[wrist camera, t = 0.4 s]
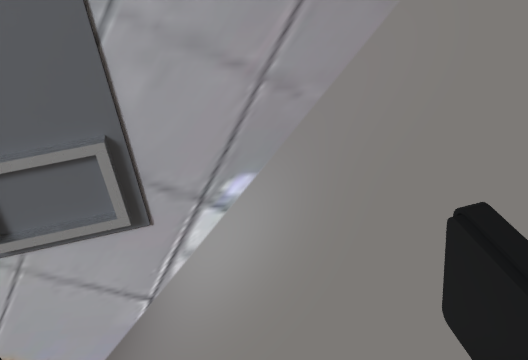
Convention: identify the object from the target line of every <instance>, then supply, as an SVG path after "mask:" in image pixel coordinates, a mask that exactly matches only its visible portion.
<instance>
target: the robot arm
mask: <svg viewBox="0 0 528 360" xmlns="http://www.w3.org/2000/svg"><path fill="white" fill-rule="evenodd" d="M442 311H443V315H444V318H445V320H446V322H447V324H448V326H449V327H450V329H451V330H452V331H453V333H454V334H455V336H456V337H457V339H458V340H459V341H460V343H461V344H462V346H463V347H464V349H465V350H466V351H467V353H468V354H469V356H470V357H471V359H472V360H528V240H527V239H526V238H525V237H523V236H522V235H521V234H520V233H519V232H518V231H517V230H516V229H515V228H514V227H513V226H511V225H510V224H509V223H508V222H507V221H506V220H505V219H504V218H503V217H502V216H501V215H499V214H498V213H497V212H496V211H495V210H494V209H493V208H492V207H491V206H490V205H488V204H487V203H485V202H480V203H476V204H472V205H468V206H465V207H461V208H457V209H456V210H455V211H454V214H453V217H450V218H449V219H448V221H447V231H446V249H445V265H444V283H443V300H442ZM0 360H1V358H0Z"/></svg>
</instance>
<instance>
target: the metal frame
mask: <svg viewBox="0 0 528 360" xmlns="http://www.w3.org/2000/svg"><path fill="white" fill-rule="evenodd" d="M93 155H96V157H97V160H98V163H99V166H100V169H101V172H102V175H103V178H104V181H105V184H106V187H107V190H108V193H109V196H110V198H111V201H112V204H113V207H114V210H115V211H112V212H108V213H103V214H98V215H93V216H89V217H84V218H79V219H75V220H70V221H65V222H61V223H56V224H51V225H46V226H42V227H37V228H32V229H28V230H23V231H18V232H14V233H9V234H4V235H0V253H5V252H10V251H14V250H19V249H23V248H28V247H33V246H37V245H42V244H46V243H51V242H56V241H60V240H65V239H70V238H74V237H79V236H83V235H88V234H93V233H97V232H102V231H106V230H111V229H116V228H120V227H125V226H130V225H131V214H130V211H129V208H128V205H127V202H126V199H125V196H124V193H123V189H122V186H121V183H120V180H119V177H118V174H117V171H116V168H115V164H114V161H113V158H112V155H111V152H110V149H109V146H108V143H107V140H106V136H105V135H102V136H97V137H92V138H87V139H82V140H76V141H71V142H66V143H61V144H56V145H51V146H46V147H41V148H35V149H30V150H25V151H20V152H15V153H10V154H5V155H0V174H2V173H7V172H12V171H17V170H22V169H27V168H32V167H37V166H42V165H47V164H52V163H57V162H62V161H67V160H72V159H77V158H82V157H87V156H93Z"/></svg>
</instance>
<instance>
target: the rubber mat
mask: <svg viewBox="0 0 528 360" xmlns="http://www.w3.org/2000/svg"><path fill="white" fill-rule="evenodd" d="M102 135H105V136H106V140H107V143H108V146H109V149H110V152H111V155H112V158H113V161H114V164H115V168H116V171H117V174H118V177H119V180H120V183H121V186H122V189H123V193H124V196H125V199H126V202H127V205H128V208H129V211H130V214H131V225H130V226H125V227H120V228H116V229H111V230H106V231H102V232H97V233H93V234H88V235H83V236H79V237H74V238H70V239H65V240H60V241H56V242H51V243H46V244H42V245H37V246H33V247H28V248H23V249H19V250H14V251H10V252H5V253H0V258H1V257H6V256H10V255H15V254H19V253H24V252H29V251H33V250H38V249H42V248H47V247H52V246H56V245H61V244H65V243H70V242H74V241H79V240H84V239H88V238H93V237H97V236H102V235H107V234H111V233H116V232H120V231H125V230H130V229H134V228H139V227H143V226H148V225H150V221H149V218H148V214H147V211H146V208H145V204H144V201H143V198H142V194H141V191H140V188H139V184H138V181H137V178H136V174H135V171H134V168H133V164H132V161H131V158H130V154H129V151H128V147H127V144H126V141H125V137H124V134H123V131H122V127H121V124H120V121H119V117H118V114H117V111H116V107H115V104H114V101H113V97H112V94H111V91H110V87H109V84H108V81H107V77H106V74H105V71H104V67H103V64H102V60H101V57H100V54H99V50H98V47H97V44H96V40H95V37H94V34H93V30H92V27H91V24H90V20H89V17H88V14H87V10H86V7H85V4H84V0H0V155H5V154H10V153H15V152H20V151H25V150H30V149H35V148H41V147H46V146H51V145H56V144H61V143H66V142H71V141H76V140H82V139H87V138H92V137H97V136H102ZM112 211H115V210H114V207H113V204H112V201H111V198H110V196H109V193H108V190H107V187H106V184H105V181H104V178H103V175H102V172H101V169H100V166H99V163H98V160H97V157H96V155H93V156H87V157H82V158H77V159H72V160H67V161H62V162H57V163H52V164H47V165H42V166H37V167H32V168H27V169H22V170H17V171H12V172H7V173H2V174H0V235H4V234H9V233H14V232H18V231H23V230H28V229H32V228H37V227H42V226H46V225H51V224H56V223H61V222H65V221H70V220H75V219H79V218H84V217H89V216H93V215H98V214H103V213H108V212H112Z"/></svg>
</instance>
